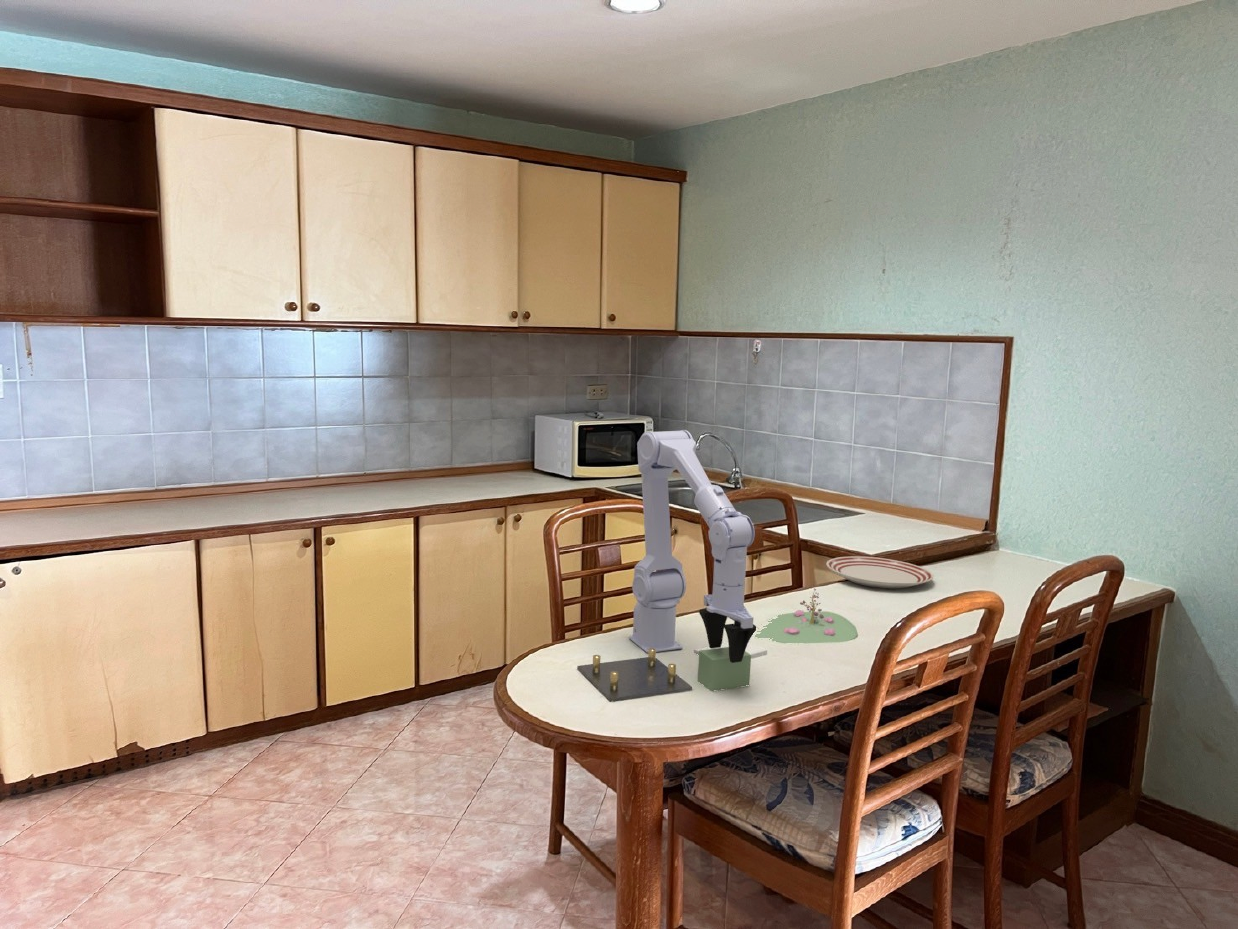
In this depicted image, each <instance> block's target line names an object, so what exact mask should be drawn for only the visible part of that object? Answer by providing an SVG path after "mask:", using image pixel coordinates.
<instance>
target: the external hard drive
mask: <svg viewBox="0 0 1238 929" xmlns="http://www.w3.org/2000/svg"><path fill="white" fill-rule="evenodd" d="M724 647H729V643H728V640H727V641H722V644H721V647H719V648H724ZM708 649H716V648H710V647H709V645H708V646H704V647H701V648H697V649H694V650H693V654H694V653H696V654H698V655H699V651H700V650H708ZM745 651H746V652H747V653H749V654H750V655H751V658H752V659H755V658H759V657H762V655H763V656H767V655H768V649H767V648H765V647H762V646H760V645H758V644H756V643H754V642H750V641H749V642H748V644H747V647H746V650H745ZM696 654H695V655H696ZM766 654H767V655H766ZM698 655H697V656H698Z"/></svg>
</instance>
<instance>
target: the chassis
mask: <svg viewBox="0 0 1238 929" xmlns="http://www.w3.org/2000/svg"><path fill="white" fill-rule="evenodd" d="M647 655H648V656H646V657H645V656H644V657H638V658H637V657H636V658H631V659H629V658H628V659H621V660H613V661H606V662H601V655H600V654H593V655H592V663H589V664H581V665H577V667H576V668H577V670H578V671H579V672H580V674H582V675H583V677H585V678H586V679H587V680H588V681H589V682H590V684H592V685H593V686H594V687H595V689H596V690H598V691H599V692H600V693H601V695H603V696H604V698H606V700H608V702H610V703H611V701H613V702H618V700H620V701H627V700H633V699H634V700H635V699H639V698H646V697H647V698H648V697H653V696H662V695H668V694H675V693H683V692H688V691H689V692H690V691H693V686H692V685H691V684H690V683H688V682H687V681H685V680H684V679H683V678H682V677H680V676H679V675H678V674H677V673H676V672H677V671H676V670H677V665H676V663H668V666H667V665H665V664H664V663H663V662H662V661H661V660H659V659H658V658H657V656H656V655H657V652H656V649H654V648H650V649H649V653H648V654H647Z"/></svg>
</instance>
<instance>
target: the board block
mask: <svg viewBox="0 0 1238 929" xmlns="http://www.w3.org/2000/svg"><path fill="white" fill-rule="evenodd" d="M751 662H752V659H751V655H750V654H749V653H747V652H746V651H745V653H744V656H743V659H742V661H741V662H735V663H732V662H730V658H729V647H724V648H716V649H708V650H700V651H699V656H698V667H697V669H698V670H697V682H698V683H699V682H700V683H699V684H700V685H702V684H703V685H704V686H703V685H702V686H703V687H704V688H706V689H707V690H708V689H709V692H715V691H714V690H718V691H722V690H721V689H725V690H730V689H736V688H737V687H738V688H742V687H741V686H745V687H747V686H746V685H749V686H750V682H751V681H750V679H751Z"/></svg>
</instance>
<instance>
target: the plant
mask: <svg viewBox="0 0 1238 929" xmlns="http://www.w3.org/2000/svg"><path fill="white" fill-rule="evenodd" d="M816 590H817V589H816V588H814V587H813V593H812V596H810V597H809V598H811V601H812V602H811V601H809V604H807V602H806V601H805V600H802V601H801V602H800V603H799V604H800V605H803V606H804V607H806V610H807V611H804V610H800V609H798V610H796V611H795V612H790V613H781V614H782V615H781V614H778V616H777V615H776V616H777V617H778V618H776V619H772V618H771V619H772V620H771V621H768V620H767V621H768V622H772V623H769V624H768V625H766V626H763V627H767V628H764V629H762V630H761V631H757V632H761V633H760V634H756V635H755V637H754V638H756V637H757V639H759V638H770V639H772V638H773V639H772V641H771V642H774V641H776V643H780V644H786V643H798V644H797V645H799V643H803V644H827V643H829V644H830V643H845V642H849V641H851V640H855V639H856V638H857V637H858V636H859V633H858V631H857V627H856V626H855V625H854V624H853V623H852V622H851V621H850V620H848V618H846V617H844V616H842V615H841V614H838V613H835V612H833V611H832V612H831V611H824V610H822V609H821V608H818V609H817V611H816V608H817V606H819V605H821V602H817V600H816V599H820V597H819V592H817V591H816ZM815 591H816V592H815ZM815 598H816V599H815ZM770 639H769V640H770Z"/></svg>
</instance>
